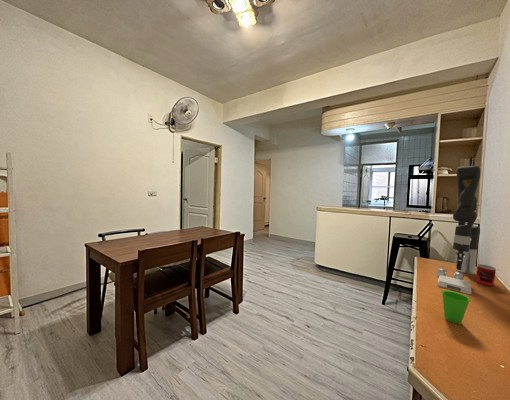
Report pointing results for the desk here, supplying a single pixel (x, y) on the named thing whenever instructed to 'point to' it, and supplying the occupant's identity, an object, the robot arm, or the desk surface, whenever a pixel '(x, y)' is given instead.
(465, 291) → the scale
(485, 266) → the canned food
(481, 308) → the desk surface
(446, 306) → the cup
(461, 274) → the cylinder
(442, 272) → the disc
